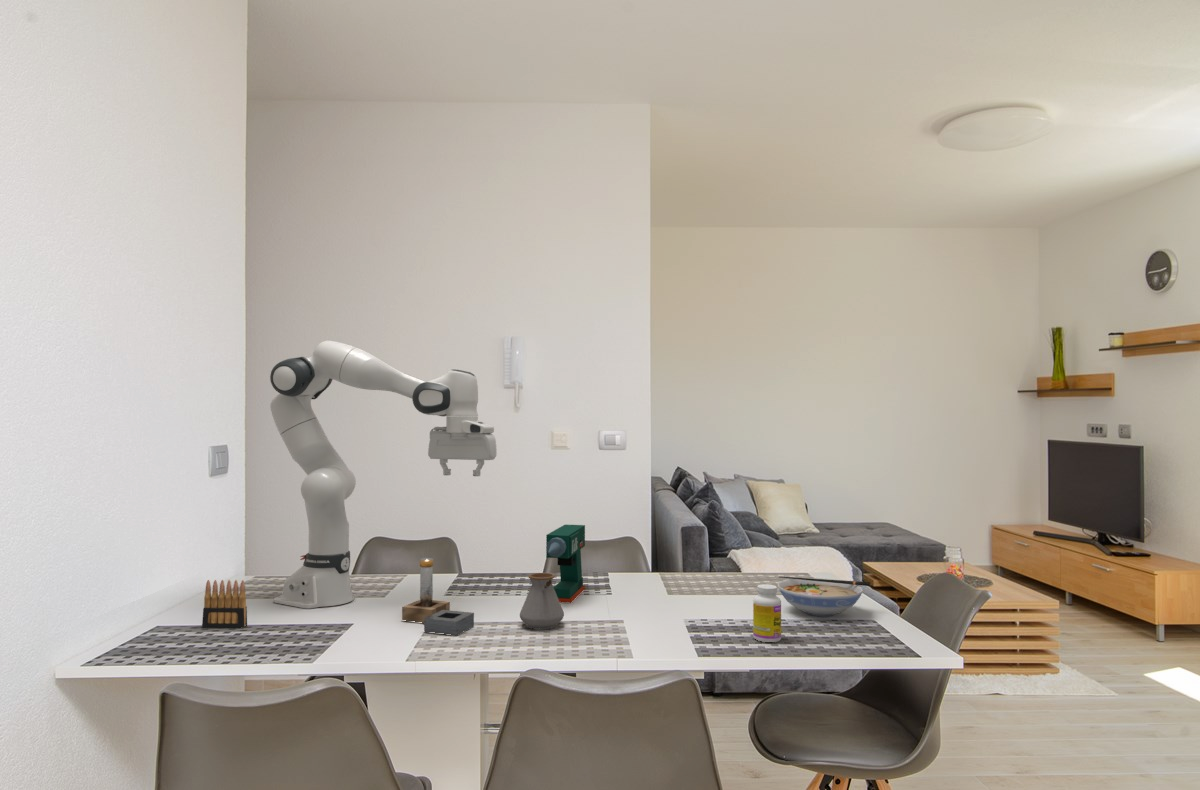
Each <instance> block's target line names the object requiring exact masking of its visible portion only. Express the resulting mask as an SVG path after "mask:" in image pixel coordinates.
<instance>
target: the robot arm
mask: <svg viewBox="0 0 1200 790" xmlns="http://www.w3.org/2000/svg"><path fill="white" fill-rule="evenodd" d="M270 371H271V372H270V376H269V377H270V379H269V380H270V384H271V385H272V388H273V389H274V390H275V391H276V392H277V393H278V394H277V395H276V396H275V397H274V398H272V400H271V402H270V408H269V409H270V412H271V415H272V418H273V420H274V424H275V426H276V428H277V431H278V432H279V435H280V437H281V438H282V441H283V442H284V445H285V446H286V449H287V450H288V452H289V454H290V456H291V458H292V460H293V461H294V462H295V463H297V464H298V465H299V467H300V468H301V469H302V470H303V471H304V473H305V474H306V477H305V478H304V479H303V481H302V482H301V485H300V493H301V496H302V499H303V500H304V506H305V511H306V516H307V522H308V552H307V553H306V554H304V555H301V556H300V561H303V560H304V561H303V562H302V563H303V564H302V566H301V567H299V569H297V570H296V571H295V572H293V573H292V574H291V575H290V576H289V577H287V578H286V579H285V581H284V584H283V587H282V594H280V595H278V596H276V597H274V599H273V603H275V604H280V605H287V606H290V607H291V606H292V607H296V608H301V609H313V608H315V609H316V608H319V607H321V608H322V607H323V608H324V607H334V606H340V605H344V604H347V603H350V602H352V601H354V600H355V597H354V593H353V591H352V586H351V578H350V566H351V550H350V548H349V547H350V540H349V539H350V524H349V523H350V522H349V521H348V517H347V512H346V507H345V500H347V499H348V498H349V497H350V496H351V495H352V494H353V492H354V490H355V488H356V485H357V483H356V482H357V481H356V476H355V474H354V473H353V472H352V470H351V469H350V468H349V467H348V466H347V464H346V463H345V461H344V460H343V458H342V457H341V455H340V454H339V453H338V451H337V450H336V449H335V448H334V446H333V445H332V443H331V442H330V439H328V436H327V435H326V433H325V431H324V428H323V427H322V425H321V423H320V421H319V419H318V418H317V416H316V413H315V412H314V409H313V408H312V404H311V403H312V402H311V401H312V400H316V399H318V398H319V397H320V396H321V394H322V393H323V392H324V391H326V390H327V389H328V388H329V387H330V385H331V384H332V383H333V380H334V381H337V382H339V383H341V384H343V385H346V386H349V387H352V388H356V389H359V390H360V389H363V390H368V391H385V392H392V393H396V394H398V395H401V396H404V397H406V398H410V399H412V404H413V406H414V408H415V409H416V410H417V411H418V412H419V413H421V414H424V415H425V416H426V415H428V416H438V417H446V420H445V421H446V424H445V425H446V426H434V427H433V428H432V429H431V430H430V431H429V441H428V442H429V443H428V448H427V449H428V451H427V454H428V458H429V459H431V460H439V465H440V467H441V468H442V470H443V471H442V473H443V474H442V476H451V475H452V468H449V466H448V464H447V463H448V460H463V461H464V460H467V461H468V460H470V461H471V460H473V461H476V465H477V466H476V468H475V469H472V476H473V477H481V470H482V468H483V466H484V465H485V461H494V460H495V459H496V457H497V440H496V437H495V435H494V434H493V433H494V431H495V427H494V426H493V424H488V423H486V422H483V421H480V420H479V414H478V411H477V409H478V408H477V407H478V403H479V389H478V388H479V386H478V380H477V376H476V375H475V374H474V373H472V372H471V371H467V370H466V371H465V370H462V369H461V370H460V369H450V370H449V371H447V372H446V373H444V374H443V375H440V376H439V377H437V378H434V379H431V380H428V381H427V380H423V379H420V378H418V377H415V376H413V375H411V374H407V373H405V372H402V371H400V370H398V369H397V368H395V367H393V366H391V365H390V364H388V363H386V362H384V361H383V360H382V359H380V358H378V357H377V356H375V355H373V354H372V353H370V352H367V351H366V350H364V349H362V348H358V347H356V346H354V345H350V344H347V343H343V342H340V341H334V340H329V339H328V340H327V339H326V340H323V341H322V342H319V344H317V345H316V346H315V348H314V350H313V352H312V354H311V356H309V357H307V356H306V357H305V356H299V357H298V356H297V357H291V358H287V359H283V360H281V361H279V362H278V363H277V364H275V365H274V366H273V367H272V370H270Z"/></svg>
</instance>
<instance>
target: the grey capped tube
mask: <svg viewBox="0 0 1200 790" xmlns="http://www.w3.org/2000/svg"><path fill="white" fill-rule="evenodd" d="M419 566H420V573H419V574H420V575H419V576H420V577H419V578H420V579H419V581H420V584H419V585H420V586H419V587H420V589H419V592H420V593H419V600H420V607H432V600H433V582H434V579H433V577H434V576H433V572H434V571H433V568H434V558H432V557H423V558H420V559H419Z"/></svg>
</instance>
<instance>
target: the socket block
mask: <svg viewBox="0 0 1200 790" xmlns="http://www.w3.org/2000/svg"><path fill="white" fill-rule="evenodd" d="M423 625H424V628H423V632H424V631H425V632H435V633H444V634H451V635H457V636H459V635H461V634H462V633H461V632H463V631H465V630H466V631H468V630H470V629H472V628H474V627H473V626H474V625H475V613H474V612H471V611H470V612H468V611H461V610H451V609H450V610H441V611H439V612H437V613H435V614H433V615H431V616H429V617H426V618H424V624H423ZM471 627H472V628H471ZM469 628H470V629H469ZM467 629H468V630H467ZM466 631H465V632H466ZM460 633H461V634H460ZM463 633H464V632H463ZM458 634H459V635H458ZM451 635H450V636H451Z"/></svg>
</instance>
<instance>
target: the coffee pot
mask: <svg viewBox="0 0 1200 790" xmlns="http://www.w3.org/2000/svg"><path fill="white" fill-rule="evenodd" d="M554 578H555V574H552V573H549V572H548V573H546V572H537V573H531V574H530V575H528V579H529V580H530V582H531V585H530V588H529V591H528V593H527V595H526V598H525V600H524V603H523V605H522V606H521V610H520V613H519V619H520V620H521V621H522V623H524V625H526V627H527V626H528V627H527V628H529V627H530V628H529V629H532V628H534V629H533V630H549V628H551V629H554V628H556V627H557V625H558V624H560V623H561V622H562V621H563V619H564V616H565V611H564V610H563V606H562V605H561V602H559V600H558V597H557V595H556V592H555V590H554V585H556V584H555V583H556V582H555V581H553V580H554Z"/></svg>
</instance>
